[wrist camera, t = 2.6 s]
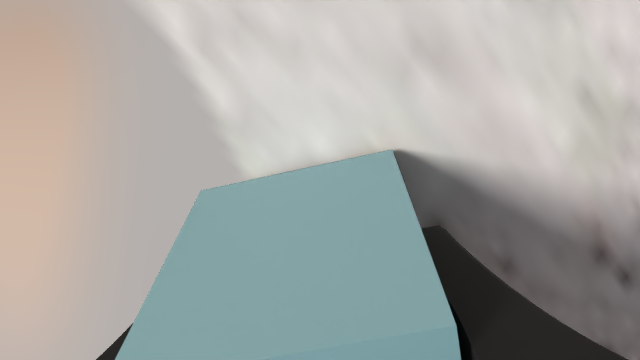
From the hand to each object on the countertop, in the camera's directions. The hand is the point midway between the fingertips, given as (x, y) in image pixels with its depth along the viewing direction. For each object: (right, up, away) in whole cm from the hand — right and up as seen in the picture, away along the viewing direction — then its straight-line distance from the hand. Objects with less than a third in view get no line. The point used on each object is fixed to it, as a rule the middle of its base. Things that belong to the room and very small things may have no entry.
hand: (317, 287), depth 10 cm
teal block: (0, +1, +1) cm, 1 cm away
